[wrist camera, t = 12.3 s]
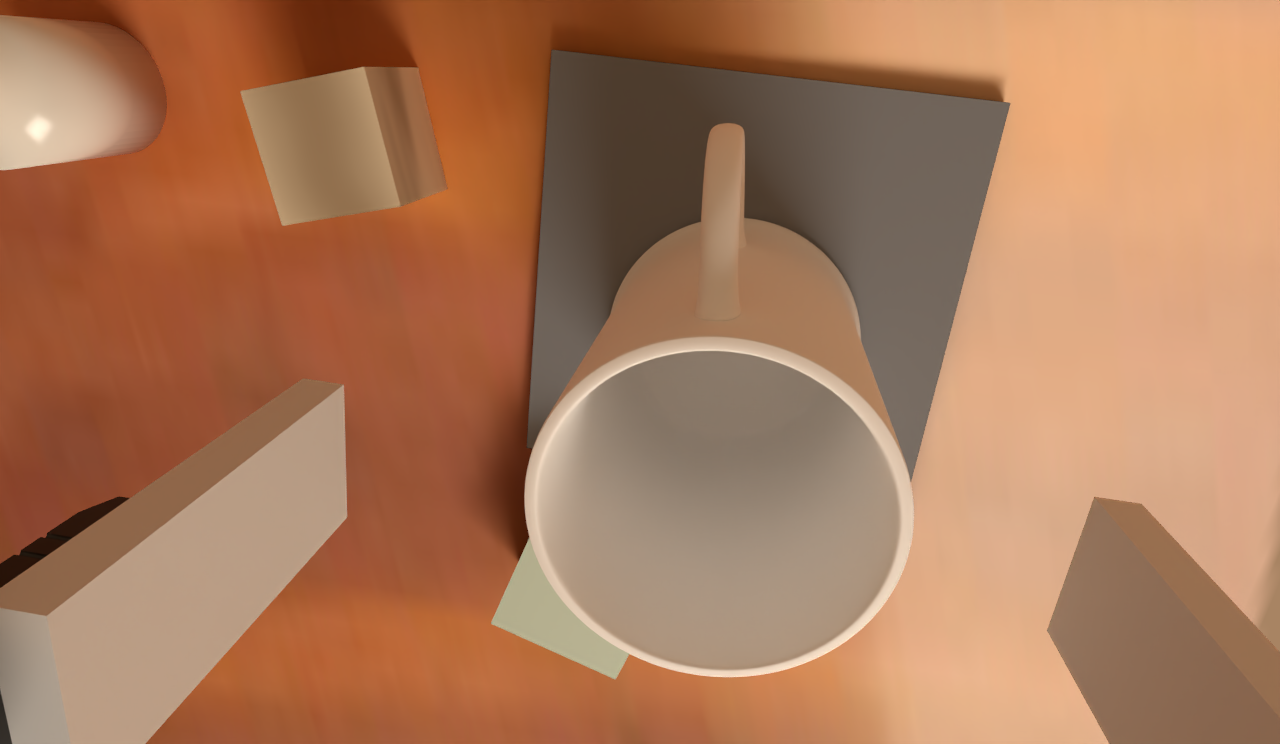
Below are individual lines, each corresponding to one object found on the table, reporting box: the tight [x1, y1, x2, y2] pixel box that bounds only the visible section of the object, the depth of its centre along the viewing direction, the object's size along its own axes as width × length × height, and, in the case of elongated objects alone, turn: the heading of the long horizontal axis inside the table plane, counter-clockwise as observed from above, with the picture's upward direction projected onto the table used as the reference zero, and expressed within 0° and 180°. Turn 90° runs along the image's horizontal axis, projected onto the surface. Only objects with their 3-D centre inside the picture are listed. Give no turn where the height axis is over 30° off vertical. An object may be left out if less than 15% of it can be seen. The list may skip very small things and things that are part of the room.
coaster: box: [527, 50, 1010, 481], centre depth 27 cm, size 14×14×1 cm
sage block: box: [491, 537, 629, 679], centre depth 30 cm, size 5×5×4 cm
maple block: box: [240, 67, 447, 226], centre depth 26 cm, size 4×4×4 cm
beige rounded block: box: [0, 15, 167, 170], centre depth 26 cm, size 4×4×5 cm
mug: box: [524, 123, 914, 677], centre depth 22 cm, size 12×8×12 cm
